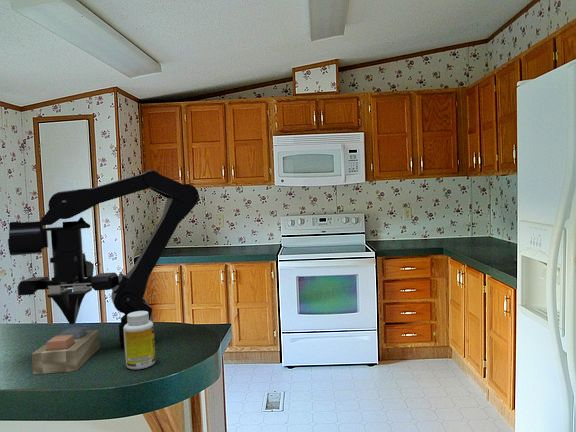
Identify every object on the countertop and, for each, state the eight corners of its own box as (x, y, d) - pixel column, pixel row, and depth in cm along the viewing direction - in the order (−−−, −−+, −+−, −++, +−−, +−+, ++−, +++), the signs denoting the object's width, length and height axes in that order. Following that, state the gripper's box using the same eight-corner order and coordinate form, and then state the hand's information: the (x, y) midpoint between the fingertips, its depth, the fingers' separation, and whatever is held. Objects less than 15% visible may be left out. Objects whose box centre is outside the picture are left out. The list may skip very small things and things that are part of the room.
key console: (99, 347, 96) (98, 329, 96) (76, 370, 83) (75, 350, 83) (62, 350, 95) (61, 332, 95) (33, 374, 82) (31, 353, 82)
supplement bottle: (159, 365, 84) (156, 313, 83) (129, 373, 81) (125, 319, 80) (151, 357, 89) (148, 308, 88) (123, 364, 86) (119, 313, 85)
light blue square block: (86, 339, 94) (85, 326, 94) (79, 344, 91) (78, 331, 91) (69, 340, 94) (68, 327, 94) (62, 345, 90) (61, 332, 90)
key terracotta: (74, 348, 88) (73, 334, 88) (67, 354, 84) (65, 340, 84) (56, 349, 88) (54, 336, 87) (47, 356, 84) (46, 342, 84)
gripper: (123, 244, 100) (128, 310, 101) (39, 248, 99) (44, 316, 99) (108, 250, 89) (113, 324, 90) (13, 255, 88) (19, 331, 88)
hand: (72, 323), depth 92 cm, fingers closed
